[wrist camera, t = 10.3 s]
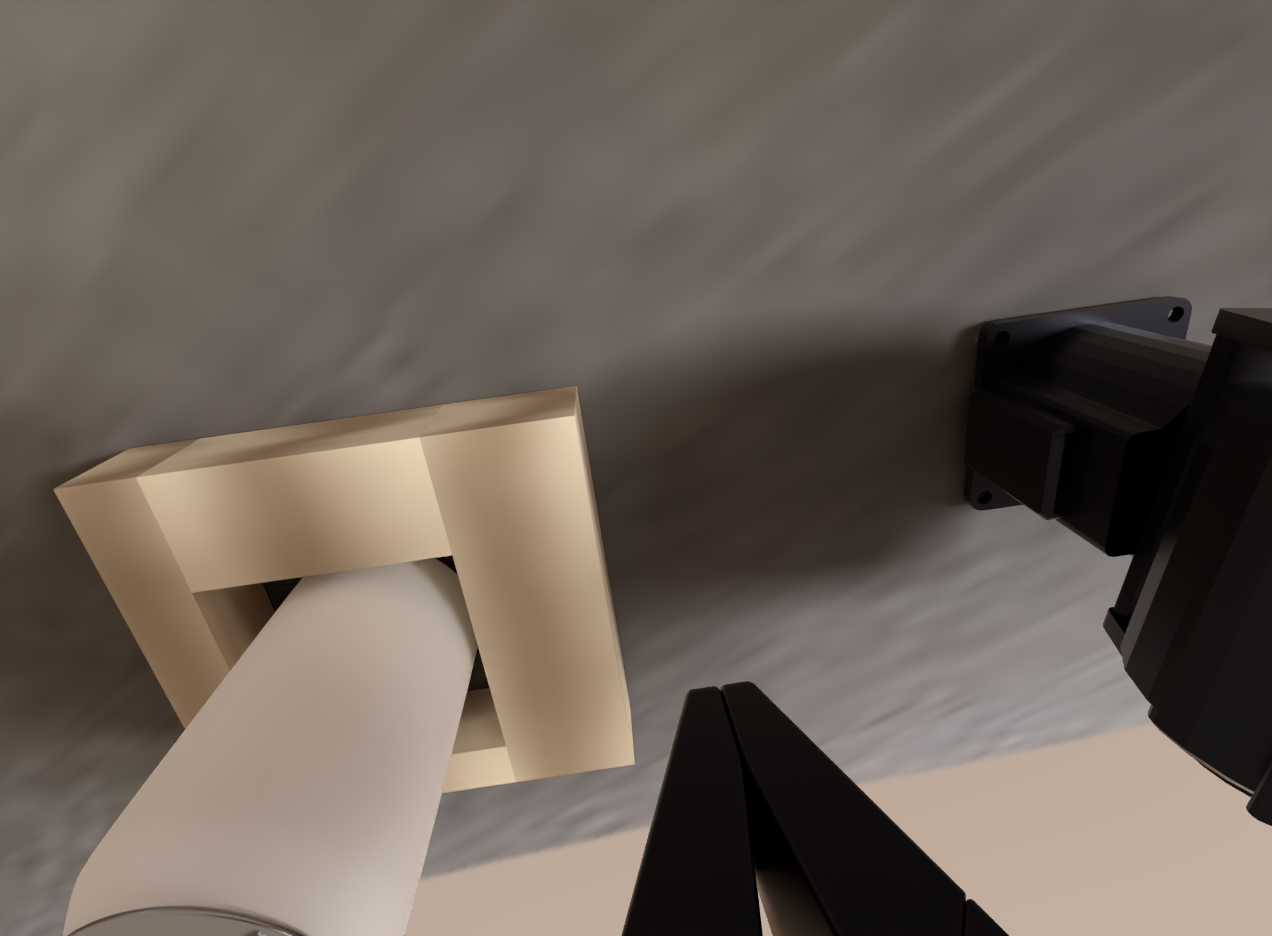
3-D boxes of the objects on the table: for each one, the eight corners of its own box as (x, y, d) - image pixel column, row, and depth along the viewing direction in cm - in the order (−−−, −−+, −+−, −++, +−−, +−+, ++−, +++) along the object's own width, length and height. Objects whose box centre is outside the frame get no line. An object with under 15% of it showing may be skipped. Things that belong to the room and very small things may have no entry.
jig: (576, 385, 20) (574, 415, 17) (629, 701, 25) (634, 764, 22) (129, 448, 19) (52, 489, 17) (276, 754, 25) (237, 823, 22)
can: (256, 595, 22) (-86, 999, 11) (403, 503, 21) (194, 841, 10) (381, 712, 24) (207, 1140, 13) (519, 633, 23) (455, 1025, 12)
